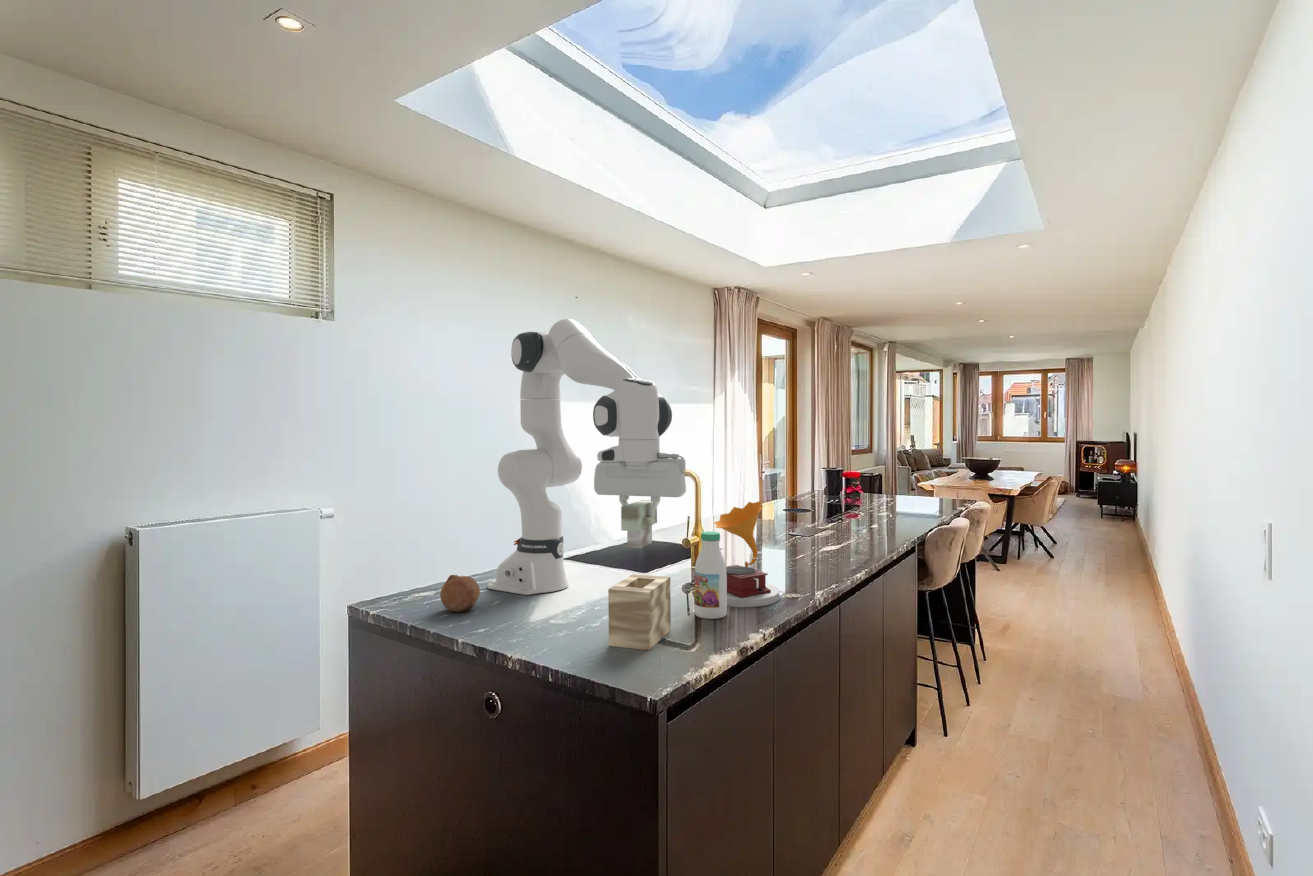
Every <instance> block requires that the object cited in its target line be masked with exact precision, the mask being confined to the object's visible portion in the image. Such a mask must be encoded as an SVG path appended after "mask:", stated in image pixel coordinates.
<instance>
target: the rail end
mask: <svg viewBox="0 0 1313 876" xmlns="http://www.w3.org/2000/svg"><path fill="white" fill-rule="evenodd" d="M652 504H653V502H651V499H640V500H637V501H634V502H631V503H628V505H625V506H622V505H621V506H620V509H621V510H620V513H621V514H620V520H621V521H620V524H621V530H620V531H623V532H624V531H625V532H626V531H627V535H626V537H627V538H626V539H627V542H626V543H627V544H626V545H627V548H630V549H642V548H644V547H646V546H648V545H650V544H652V543H653V525H655V524H657V523H658V506H657V507H656V509H655V517H653V518H650V517H646V514H647V513H646V509H649V508H651V506H652Z"/></svg>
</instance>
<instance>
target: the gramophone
mask: <svg viewBox="0 0 1313 876" xmlns="http://www.w3.org/2000/svg"><path fill="white" fill-rule="evenodd" d="M761 504H762V502H761V501H755V502H751V501H748V502H747V504H745V505H744V506H743V507H742V508H741V507H737V506H736V507H735V506H733V507H732V509H731V510H730V512H728V513H723V514H720V516H719V520H718V521H715V522H713V524H714V525H716V526H715V528H717V529H722V530H724V531H727V532H728V533H730V534H733V535H734V536H738V537H740V538H742V539H743V540H744V542H745V543H746V544H747V545H748V546H749V549H751V551H752V556H751V562H748V561H745V562H744V566H743V565H740V564H734V565H727V566H726V573H727V607H732V608H733V607H737V608H754V607H755V608H756V607H764V606H768V605H769V606H770V605H772V604H775V603H776V602H778V601H779V600H780V588H778V587H777V586H776V585H774V584H770V583H766V581H767V580H766V576H768V575H769V573H767V572H764V571H760V570H758V558H759V557H758V547H757V544H756V543H757V542H756V541H755V537H754V530H755V527H756V524H757V521H758V518H759V513H760V512H761V511H762V509H763V507H764V505H761ZM752 565H753V567H749V566H752Z"/></svg>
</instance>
